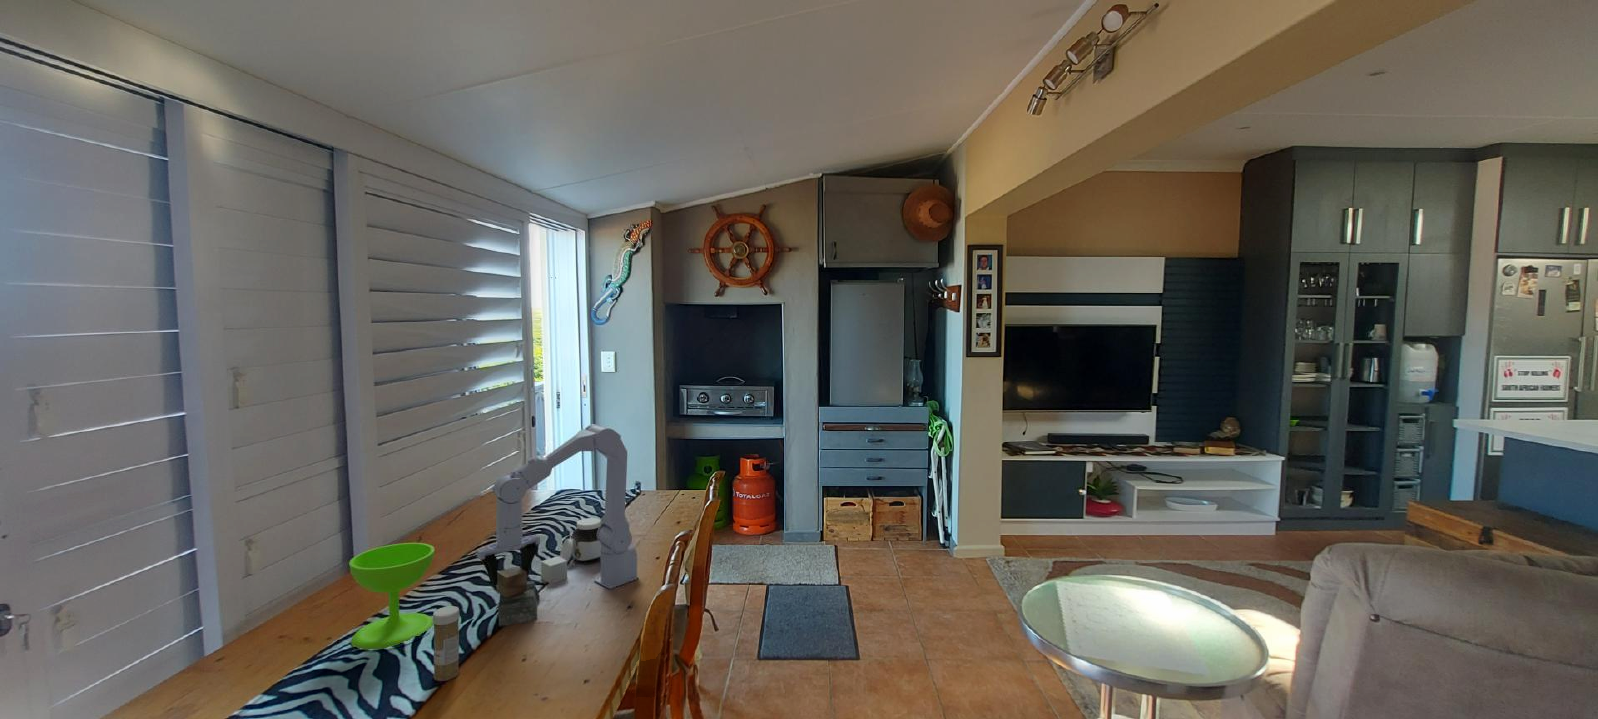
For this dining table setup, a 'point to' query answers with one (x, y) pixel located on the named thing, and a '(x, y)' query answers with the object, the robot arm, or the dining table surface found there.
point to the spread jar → (583, 542)
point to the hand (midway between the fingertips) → (509, 579)
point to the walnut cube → (511, 581)
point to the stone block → (519, 606)
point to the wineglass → (392, 591)
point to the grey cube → (553, 569)
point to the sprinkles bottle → (446, 643)
